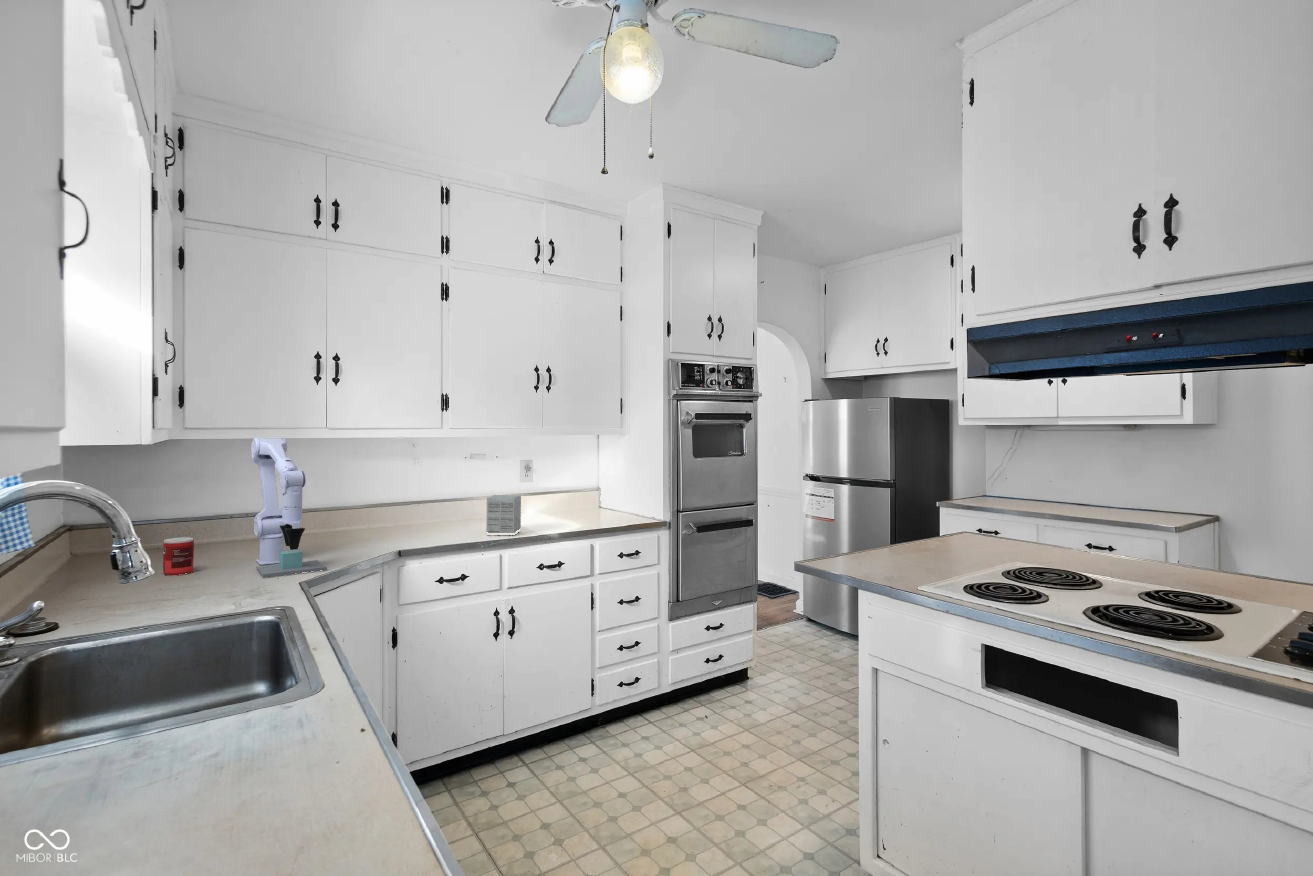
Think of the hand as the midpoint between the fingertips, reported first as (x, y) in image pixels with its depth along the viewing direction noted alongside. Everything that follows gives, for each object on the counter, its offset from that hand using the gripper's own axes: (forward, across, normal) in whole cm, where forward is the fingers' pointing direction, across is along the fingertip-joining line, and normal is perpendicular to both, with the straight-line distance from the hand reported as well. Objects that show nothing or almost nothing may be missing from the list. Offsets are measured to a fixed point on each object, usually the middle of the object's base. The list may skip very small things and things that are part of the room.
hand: (291, 547), depth 204 cm
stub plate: (+8, 0, 0) cm, 8 cm away
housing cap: (+6, 0, 0) cm, 6 cm away
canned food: (+8, -17, -29) cm, 34 cm away
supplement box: (+8, -30, +91) cm, 96 cm away
